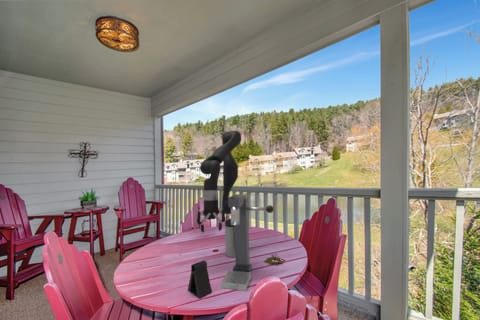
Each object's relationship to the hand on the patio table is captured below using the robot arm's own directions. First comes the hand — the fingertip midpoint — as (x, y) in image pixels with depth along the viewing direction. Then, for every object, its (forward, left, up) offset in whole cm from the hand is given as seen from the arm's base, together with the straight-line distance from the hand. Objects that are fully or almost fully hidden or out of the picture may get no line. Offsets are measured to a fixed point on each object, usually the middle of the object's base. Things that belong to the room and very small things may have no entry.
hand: (211, 231), depth 111 cm
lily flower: (-17, +30, -21) cm, 40 cm away
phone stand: (+18, +2, -20) cm, 27 cm away
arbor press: (+4, +21, -20) cm, 29 cm away
